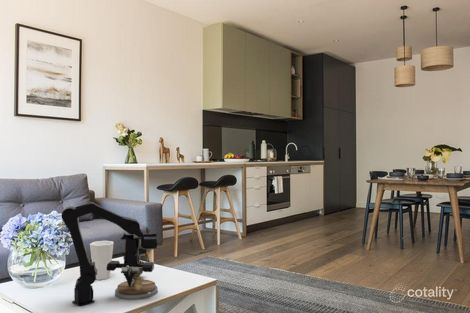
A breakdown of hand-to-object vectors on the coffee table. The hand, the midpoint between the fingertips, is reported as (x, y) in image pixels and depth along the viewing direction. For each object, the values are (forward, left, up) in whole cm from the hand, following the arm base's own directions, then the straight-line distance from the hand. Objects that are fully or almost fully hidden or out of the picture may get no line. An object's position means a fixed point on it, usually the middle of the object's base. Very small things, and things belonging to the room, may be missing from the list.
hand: (129, 286), depth 169 cm
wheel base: (+6, +3, -5) cm, 8 cm away
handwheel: (+6, +3, -3) cm, 7 cm away
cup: (+9, +34, -5) cm, 36 cm away
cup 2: (+19, +20, -5) cm, 28 cm away
